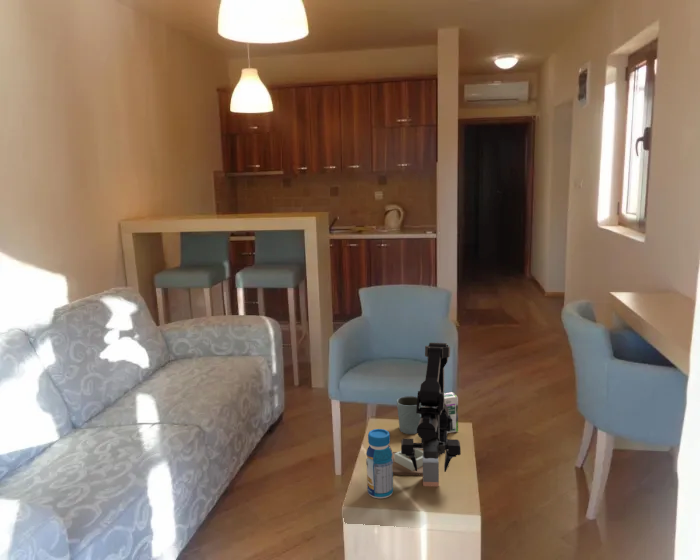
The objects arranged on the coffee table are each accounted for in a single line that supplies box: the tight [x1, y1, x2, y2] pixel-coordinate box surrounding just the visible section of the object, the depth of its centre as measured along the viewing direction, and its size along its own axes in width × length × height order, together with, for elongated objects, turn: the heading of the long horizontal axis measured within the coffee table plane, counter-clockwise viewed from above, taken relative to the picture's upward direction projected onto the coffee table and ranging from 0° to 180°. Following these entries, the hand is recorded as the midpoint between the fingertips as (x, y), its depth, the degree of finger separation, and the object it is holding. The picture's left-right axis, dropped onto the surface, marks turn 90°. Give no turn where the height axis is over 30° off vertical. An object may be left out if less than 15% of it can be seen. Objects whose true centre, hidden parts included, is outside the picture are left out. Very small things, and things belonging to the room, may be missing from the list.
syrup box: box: [444, 391, 459, 434], centre depth 219 cm, size 6×6×14 cm
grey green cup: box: [396, 395, 423, 435], centre depth 221 cm, size 10×10×12 cm
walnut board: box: [392, 451, 423, 476], centre depth 194 cm, size 14×14×1 cm
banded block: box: [422, 457, 440, 487], centre depth 182 cm, size 5×5×8 cm
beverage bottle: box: [365, 428, 394, 499], centre depth 176 cm, size 8×8×20 cm
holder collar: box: [394, 449, 423, 471], centre depth 194 cm, size 9×9×3 cm
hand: (430, 471), depth 182 cm, fingers open, 9 cm apart
